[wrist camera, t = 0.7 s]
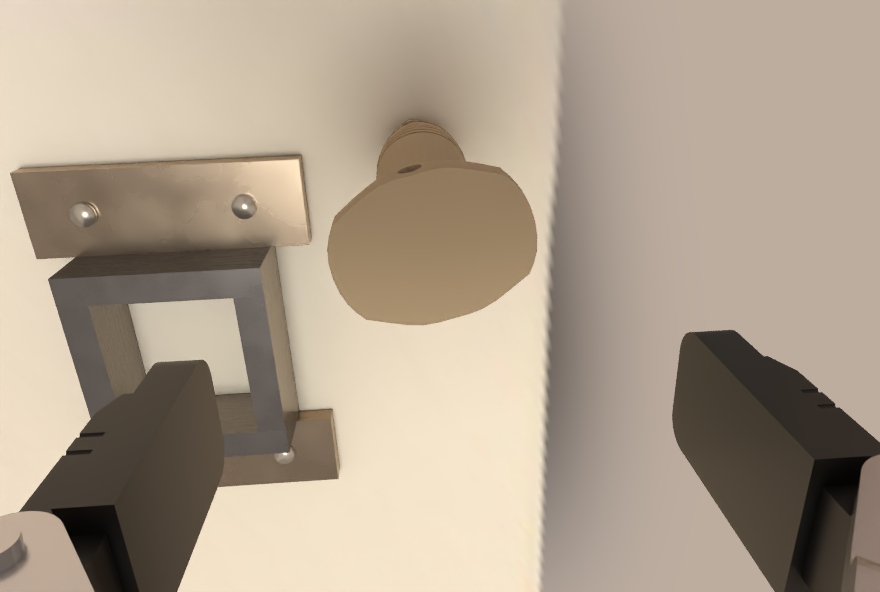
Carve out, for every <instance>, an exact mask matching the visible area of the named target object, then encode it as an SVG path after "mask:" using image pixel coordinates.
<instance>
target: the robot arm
mask: <svg viewBox="0 0 880 592" xmlns="http://www.w3.org/2000/svg"><path fill="white" fill-rule="evenodd" d="M672 417H673V418H672V419H673V429H674V434H675V437H676V440H677V443H678V445H679V447H680V449H681V451H682V452H683V454H684V455H685V457H686V458H687V460H688V461H689V463H690V464H691V466H692V467H693V469H694V470H695V472H696V473H697V475H698V476H699V478H700V479H701V481H702V482H703V484H704V485H705V487H706V488H707V490H708V492H709V493H710V494H711V496H712V497H713V499H714V501H715V502H716V503H717V505H718V507H719V508H720V510H721V511H722V513H723V514H724V516H725V517H726V519H727V520H728V522H729V523H730V525H731V526H732V528H733V529H734V530H735V532H736V534H737V535H738V536H739V538H740V540H741V541H742V543H743V544H744V546H745V547H746V549H747V550H748V552H749V553H750V555H751V556H752V558H753V559H754V561H755V562H756V564H757V565H758V567H759V569H760V570H761V571H762V573H763V575H764V576H765V577H766V579H767V581H768V582H769V583H770V585H771V587H772V588H773V590H774V591H775V592H880V442H878V441H877V440H876V439H875V438H874V437H873V436H872V435H870V434H869V433H868V432H867V431H866V430H864V428H862V427H861V426H860V425H859V424H858V423H857V422H856V421H854V420H853V419H852V418H851V417H850V416H849V415H847V414H846V413H845V412H844V411H843V410H842V409H840V408H836V407H835V403H834V402H833V401H831V400H830V399H829V398H828V397H827V396H826V395H825V394H823V393H822V392H821V393H819V392H818V388H817V387H815V386H814V385H813V384H812V383H811V382H809V381H808V380H807V379H806V378H805V377H804V376H803V375H802V374H800V373H799V372H798V371H797V370H795V369H793V368H791V367H788V366H786V365H784V364H782V363H780V362H778V361H776V360H774V359H772V358H770V357H768V356H765V357H764V356H763V355H761V354H760V353H759V352H758V351H757V350H756V349H755V348H754V347H753V346H752V345H750V344H749V343H748V342H747V341H746V340H745V339H744V338H743V337H742V336H741V335H740V334H738V333H737V332H736V331H734V330H723V331H707V332H706V331H705V332H689V333H687V334H686V335H685V336H684V337H683V340H682V343H681V347H680V355H679V363H678V372H677V379H676V387H675V396H674V404H673V414H672ZM224 458H225V449H224V439H223V433H222V428H221V423H220V418H219V413H218V408H217V403H216V398H215V393H214V387H213V382H212V377H211V373H210V369H209V367H208V364H207V363H206V362H205V361H204V360H192V361H175V362H158V363H155V364H154V365H153V366H152V368H151V369H150V371H149V372H148V373H147V375H146V376H145V378H144V379H143V380H142V382H141V383H140V385H139V386H138V387H137V389H136V390H135V392H134V393H133V394H122V395H121V396H119V397H118V398H116V399H115V400H114V401H112V402H111V403H109V404H108V405H106V406H105V407H103V408H102V409H101V410H99V411H98V412H96V413H95V414H94V416H93V417H92V418H91V420H90V421H89V422H88V424H87V425H86V426H85V427H84V429H83V430H82V431H81V433H80V438H76V439H75V440H74V442H73V443H72V444H71V445H70V447H69V448H68V449H67V451H66V456H62V457H61V458H60V460H59V461H58V462H57V464H56V465H55V466H54V467H53V469H52V470H51V471H50V473H49V474H48V475H47V476H46V478H45V479H44V480H43V482H42V483H41V484H40V485H39V487H38V488H37V489H36V491H35V492H34V493H33V495H32V496H31V497H30V498H29V500H28V501H27V502H26V504H25V505H24V506H23V507H22V509H21V510H20V511H19V512H17V513H12V514H8V515H4V516H1V517H0V592H177V590H178V588H179V585H180V583H181V580H182V578H183V575H184V572H185V570H186V567H187V565H188V562H189V560H190V557H191V554H192V552H193V549H194V547H195V544H196V542H197V539H198V536H199V534H200V531H201V529H202V526H203V523H204V521H205V518H206V516H207V513H208V511H209V508H210V505H211V503H212V500H213V498H214V495H215V493H216V490H217V487H218V485H219V482H220V480H221V477H222V473H223V468H224Z"/></svg>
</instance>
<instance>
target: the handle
mask: <svg viewBox="0 0 880 592" xmlns="http://www.w3.org/2000/svg"><path fill="white" fill-rule="evenodd" d="M376 179H377V180H376V181H374V182H373V183H372V184H370V185H369V186H368V187H367V188H365V189H364V190H363V191H362V192H361V193H359V194H358V195H357V196H356V197H355V198H354V199H353V200H352V201H350V202H349V203H348V204H347V205H346V206H345V207H344V208H343V209H342V210H341V211H340V212H339V213H338V214H337V215H336V216H335V218H334V220H333V224H332V227H331V231H330V235H329V240H328V248H327V252H328V261H329V266H330V270H331V273H332V277H333V280H334V282H335V284H336V286H337V288H338V290H339V292H340V294H341V295H342V297H343V298H344V300H345V301H346V302H347V304H348V305H349V306H350V307H351V308H352V309H353V310H354V311H356V312H357V313H358V314H359V315H361V316H362V317H364V318H365V319H366V320H373V321H380V322H388V323H396V324H405V325H427V324H432V323H438V322H442V321H445V320H449V319H453V318H456V317H460V316H463V315H467V314H470V313H473V312H475V311H478V310H480V309H483V308H485V307H486V306H488V305H490V304H491V303H493V302H494V301H496V300H497V299H499V298H500V297H501V296H502V295H504V294H505V293H506V292H508V291H509V290H510V289H511V288H513V287H514V286H515V285H516V284H517V283H519V282H520V281H521V280H522V279H524V278H525V277H526V276H527V275H528V274H529V273H530V271H531V268H532V266H533V263H534V260H535V256H536V252H537V232H536V225H535V220H534V217H533V213H532V210H531V207H530V205H529V203H528V201H527V199H526V197H525V195H524V194H523V192H522V190H521V189H520V188H519V186H518V185H517V184H516V183H515V182H514V180H513V179H512V178H511V177H510V176H509V175H508V174H507V173H506V172H504V171H503V170H502V169H501V168H499V167H494V166H489V165H484V164H478V163H473V162H466V161H465V158H464V156H463V153H462V151H461V150H460V148H459V146H458V144H457V143H456V142H455V141H454V139H453V138H452V137H451V136H450V135H449V134H448V133H447V132H446V131H445V130H443V129H442V128H441V127H440V126H436V125H433V124H430V123H425V122H418V121H417V120H416V119H412V120H408V121H406V122H404V123H403V125H402V127H401V128H399V129H398V130H396V131H395V132H394V133H393V134H392V135H391V136H390V137H389V139H388V140H387V142H386V143H385V145H384V147H383V149H382V151H381V154H380V156H379V160H378V165H377V176H376Z"/></svg>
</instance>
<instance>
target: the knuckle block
mask: <svg viewBox="0 0 880 592" xmlns="http://www.w3.org/2000/svg"><path fill="white" fill-rule="evenodd" d="M10 175H11V178H12V181H13V184H14V187H15V191H16V194H17V197H18V200H19V203H20V207H21V210H22V213H23V216H24V220H25V223H26V226H27V229H28V232H29V236H30V239H31V242H32V245H33V248H34V252H35V255H36V258H37V259H48V258H67V257H76V258H74V259H73V260H72V261H71V262H69V263H68V264H67V265H66V266H64V267H63V268H62V269H61V270H59V271H58V272H57V273H55V274H54V275H53V276H52V277H50V278H49V279H48V281H49V284H50V287H51V291H52V294H53V297H54V300H55V304H56V307H57V310H58V313H59V317H60V320H61V323H62V326H63V330H64V333H65V336H66V339H67V343H68V346H69V349H70V352H71V356H72V359H73V362H74V365H75V369H76V372H77V375H78V378H79V382H80V385H81V388H82V392H83V395H84V398H85V401H86V405H87V408H88V411H89V414H90V418H92V417H93V416H94V414H95V413H96V412H98V411H99V410H101V409H102V408H103V407H105V406H106V405H108V404H109V403H111V402H112V401H114V400H115V399H116V398H118V397H119V396H121V395H122V394H133V393H134V392H135V390H136V389H137V387H138V386H139V385H140V383H141V382H142V380H143V379H144V378H145V376H146V374H145V370H144V366H143V362H142V358H141V354H140V351H139V347H138V343H137V339H136V335H135V331H134V327H133V323H132V319H131V316H130V312H129V308H128V304H134V303H152V302H170V301H188V300H206V299H224V298H234V304H235V309H236V314H237V320H238V325H239V331H240V336H241V342H242V347H243V353H244V358H245V364H246V369H247V375H248V380H249V386H250V391H251V393H245V394H229V395H215V398H216V403H217V408H218V413H219V418H220V423H221V428H222V433H223V439H224V449H225V458H224V468H223V473H222V477H221V480H220V482H219V485H218V487H224V486H239V485H254V484H269V483H284V482H298V481H313V480H328V479H338V477H339V469H340V468H339V460H338V452H337V444H336V435H335V427H334V419H333V411H332V409H329V410H313V411H299V406H298V399H297V393H296V386H295V379H294V372H293V366H292V359H291V352H290V345H289V339H288V332H287V325H286V318H285V311H284V305H283V298H282V291H281V284H280V278H279V271H278V264H277V257H276V251H275V246H294V245H309V243H310V241H311V232H310V224H309V215H308V207H307V199H306V191H305V183H304V175H303V166H302V158H301V155H293V156H272V157H251V158H230V159H208V160H187V161H166V162H145V163H124V164H102V165H81V166H60V167H39V168H20V169H18V170H16V171H14V172H11V173H10Z"/></svg>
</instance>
